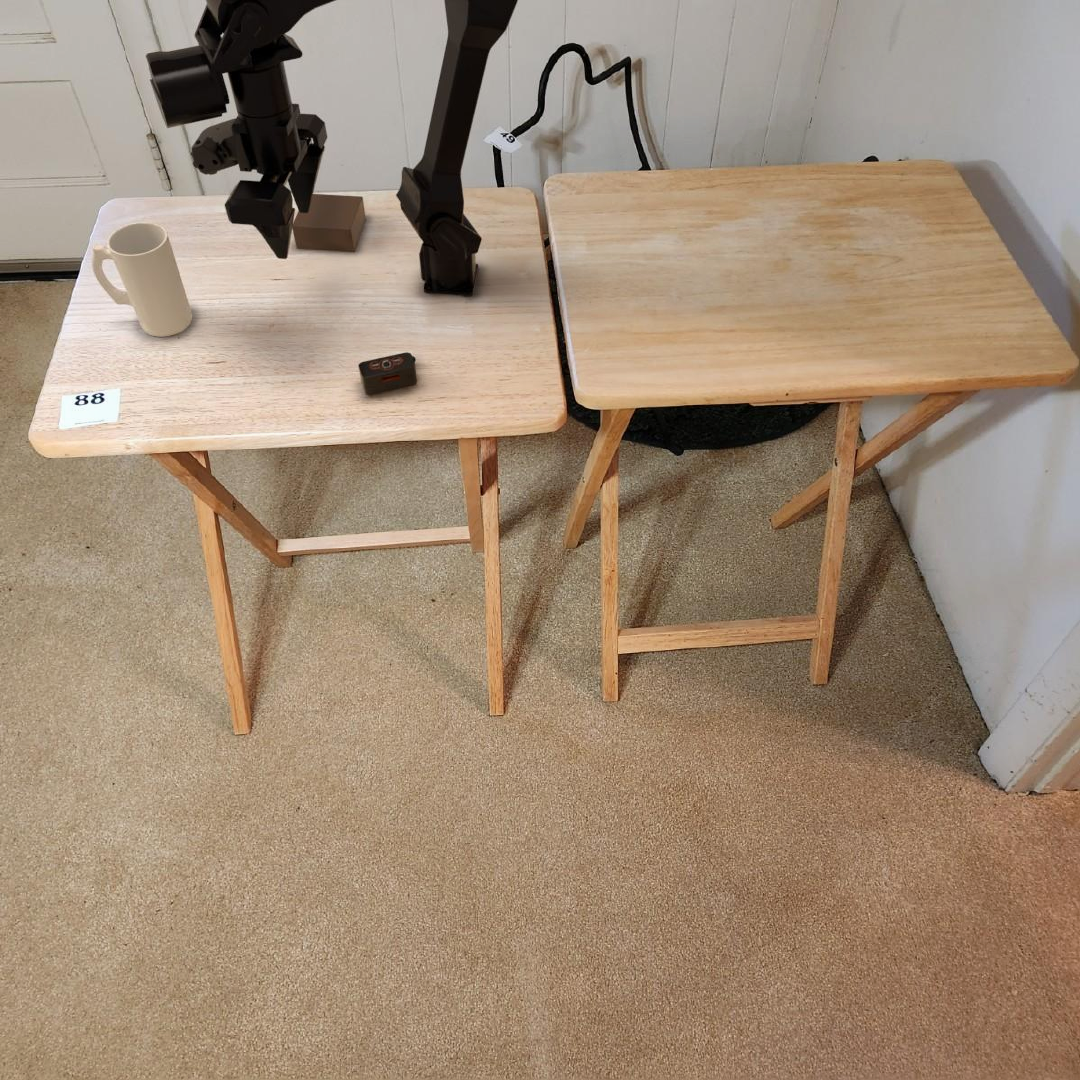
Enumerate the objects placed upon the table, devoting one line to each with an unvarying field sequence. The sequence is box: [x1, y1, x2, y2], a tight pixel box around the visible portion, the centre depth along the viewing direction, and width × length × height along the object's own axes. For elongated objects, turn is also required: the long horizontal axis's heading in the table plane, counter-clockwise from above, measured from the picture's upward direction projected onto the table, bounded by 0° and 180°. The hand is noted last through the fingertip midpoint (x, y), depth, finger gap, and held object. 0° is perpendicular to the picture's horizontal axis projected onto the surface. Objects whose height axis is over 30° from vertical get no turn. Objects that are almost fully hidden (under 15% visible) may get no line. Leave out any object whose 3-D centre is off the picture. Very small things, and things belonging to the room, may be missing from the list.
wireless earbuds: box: [358, 351, 418, 397], centre depth 115 cm, size 5×7×3 cm, turn 110°
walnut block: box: [292, 193, 367, 253], centre depth 133 cm, size 8×8×4 cm
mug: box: [91, 221, 193, 338], centre depth 118 cm, size 10×7×12 cm, turn 89°
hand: (293, 234), depth 114 cm, fingers open, 9 cm apart
